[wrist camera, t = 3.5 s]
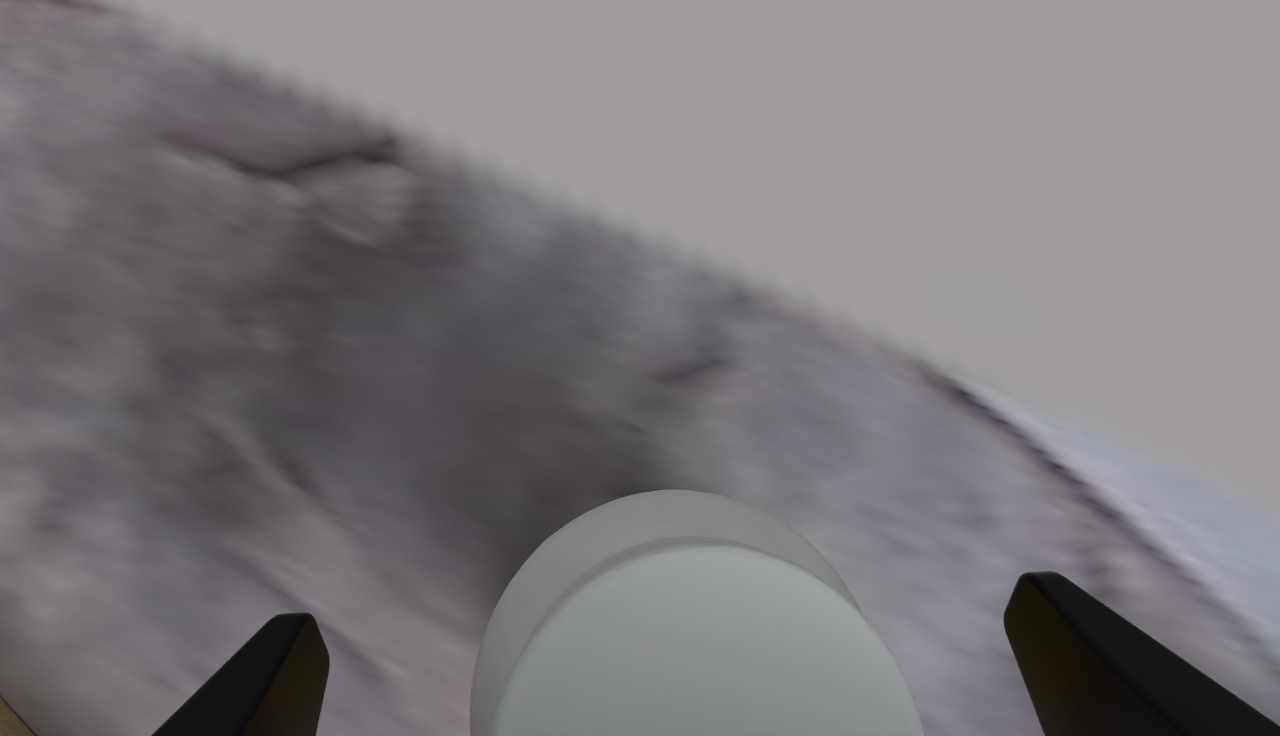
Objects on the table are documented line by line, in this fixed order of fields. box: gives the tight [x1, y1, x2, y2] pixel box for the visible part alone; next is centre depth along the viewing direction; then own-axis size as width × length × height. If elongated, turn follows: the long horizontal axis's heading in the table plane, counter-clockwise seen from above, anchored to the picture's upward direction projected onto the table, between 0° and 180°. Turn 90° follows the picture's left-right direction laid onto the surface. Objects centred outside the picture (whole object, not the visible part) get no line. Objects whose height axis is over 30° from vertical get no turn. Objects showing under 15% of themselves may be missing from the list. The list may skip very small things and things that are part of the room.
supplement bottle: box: [470, 489, 925, 736], centre depth 11 cm, size 5×5×10 cm
